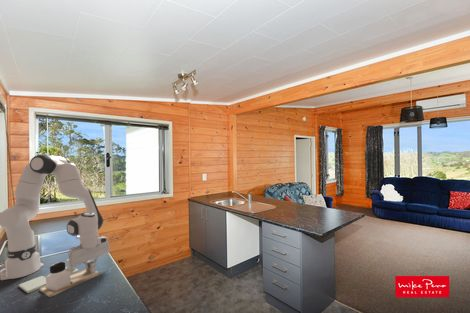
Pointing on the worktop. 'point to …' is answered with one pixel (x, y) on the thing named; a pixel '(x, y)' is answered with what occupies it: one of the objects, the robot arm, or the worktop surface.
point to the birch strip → (75, 279)
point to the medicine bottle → (57, 277)
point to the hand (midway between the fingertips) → (90, 267)
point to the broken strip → (43, 280)
